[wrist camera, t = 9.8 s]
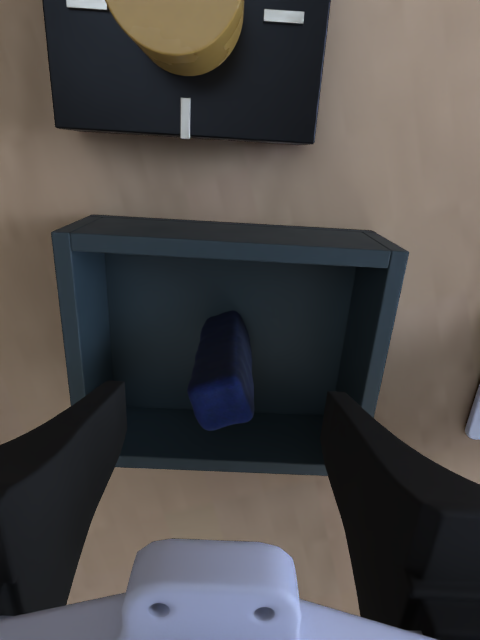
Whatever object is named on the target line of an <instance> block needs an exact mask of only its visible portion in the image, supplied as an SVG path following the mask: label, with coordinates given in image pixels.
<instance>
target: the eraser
mask: <svg viewBox="0 0 480 640" xmlns="http://www.w3.org/2000/svg"><path fill="white" fill-rule="evenodd" d="M187 393H188V397H189V399H190V402H191V404H192V407H193V411H194V415H195V417H196V419H197V421H198V423H199V424H200V425H201V427H202V428H204V429H205V430H208V431H213V430H217V429H220V428H223V427H226V426H229V425H232V424H238V423H245V422H248V421H250V420H251V419H252V418H253V415H254V384H253V378H252V352H251V344H250V338H249V334H248V331H247V328H246V326H245V324H244V322H243V319H242V317H241V316H240V314H239V313H238V312H236V311H228V312H224V313H221V314H219V315H217V316H213V317H210V318H208V319H207V320H206V321H205V324H204V326H203V327H202V330H201V334H200V343H199V345H198V350H197V352H196V355H195V364H194V367H193V371H192V376H191V380H190V382H189V384H188V389H187Z"/></svg>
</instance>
